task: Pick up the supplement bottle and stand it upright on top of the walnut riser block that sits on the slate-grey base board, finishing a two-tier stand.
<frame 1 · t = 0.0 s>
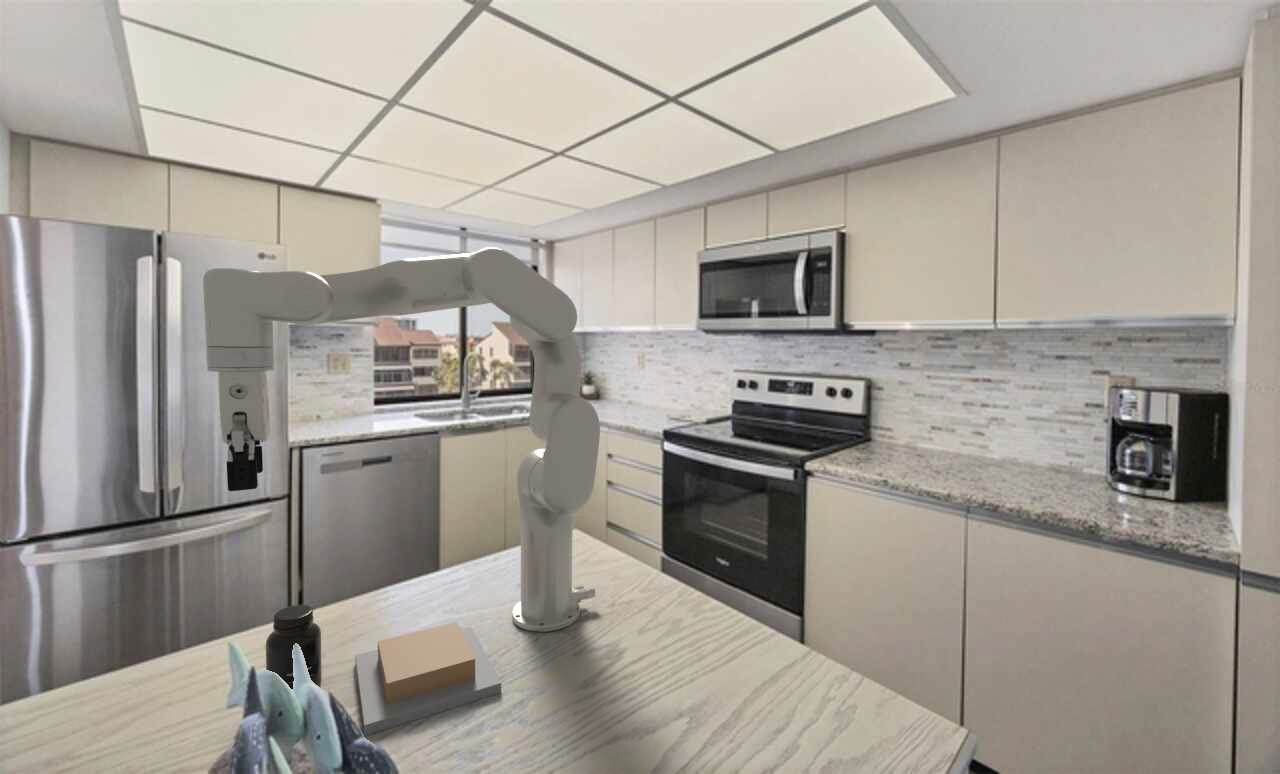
hand: (246, 481, 77), 31 cm above the countertop, tool pointing down, fingers open, 9 cm apart
pedestal: (425, 677, 83), on the countertop
supplement bottle: (295, 691, 80), on the countertop
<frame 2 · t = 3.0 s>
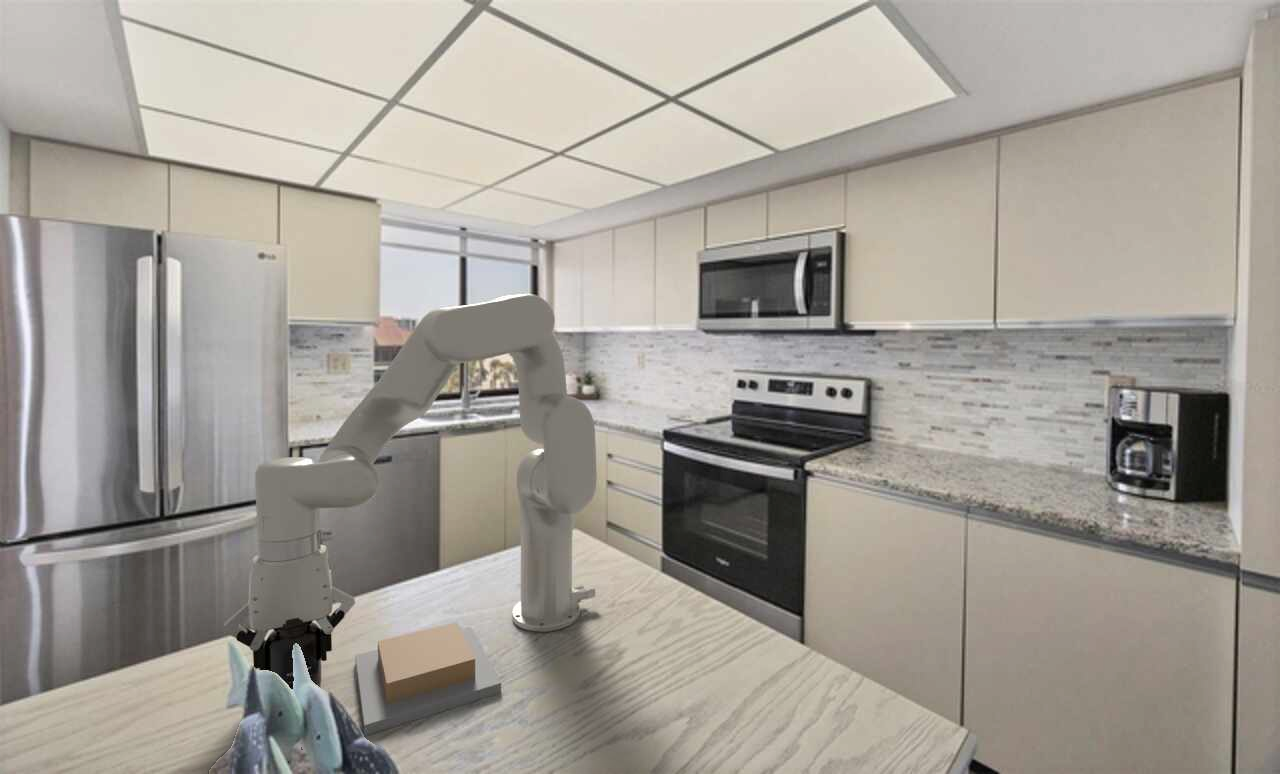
hand: (294, 662, 79), 4 cm above the countertop, tool pointing down, fingers closed on supplement bottle, 6 cm apart
supplement bottle: (295, 691, 80), on the countertop, touching gripper
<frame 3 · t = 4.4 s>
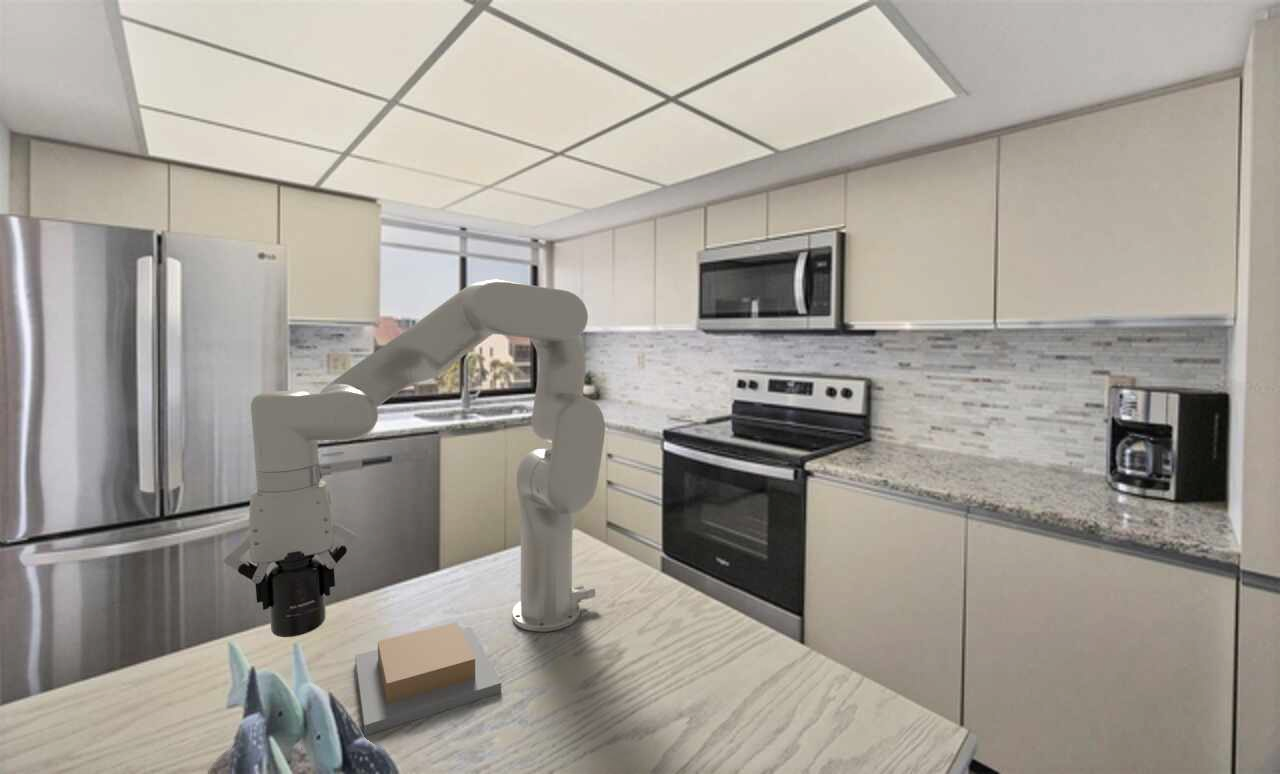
hand: (297, 597, 79), 14 cm above the countertop, tool pointing down, fingers closed on supplement bottle, 6 cm apart
supplement bottle: (299, 627, 79), point 9 cm above the countertop, touching gripper
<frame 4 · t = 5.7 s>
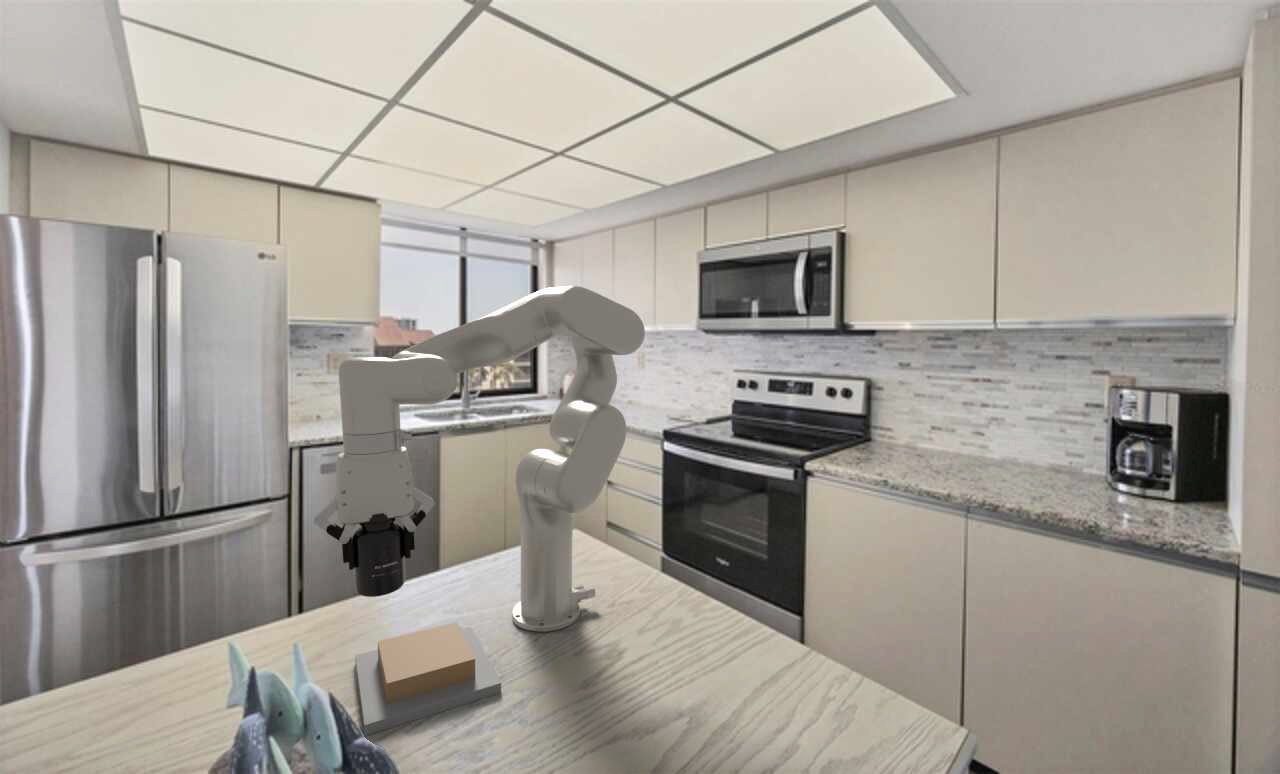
hand: (379, 559, 81), 19 cm above the countertop, tool pointing down, fingers closed on supplement bottle, 6 cm apart
supplement bottle: (381, 588, 81), point 14 cm above the countertop, touching gripper
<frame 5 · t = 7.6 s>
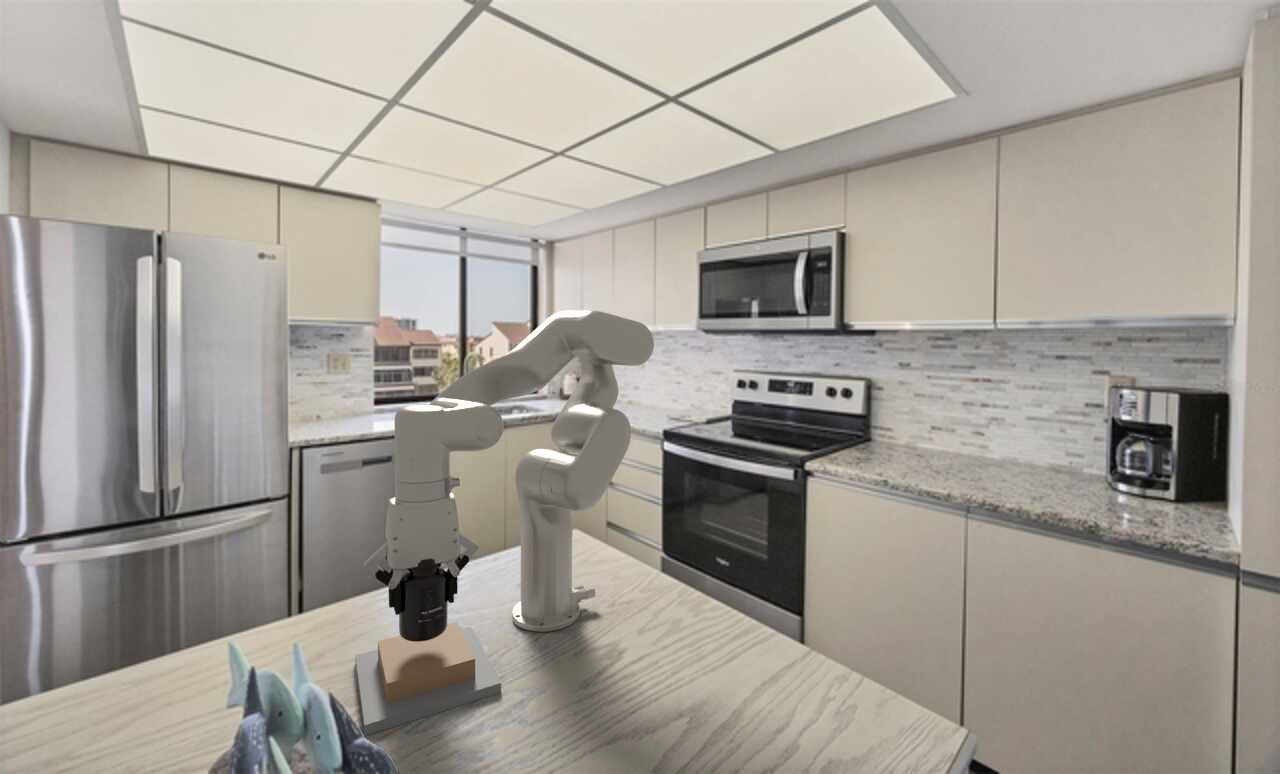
hand: (423, 603, 82), 12 cm above the countertop, tool pointing down, fingers closed on supplement bottle, 6 cm apart
supplement bottle: (424, 632, 83), point 7 cm above the countertop, touching gripper
when the fingers open (10 cm above the countertop, at t = 8.9 s): supplement bottle drops 1 cm, resting on pedestal.
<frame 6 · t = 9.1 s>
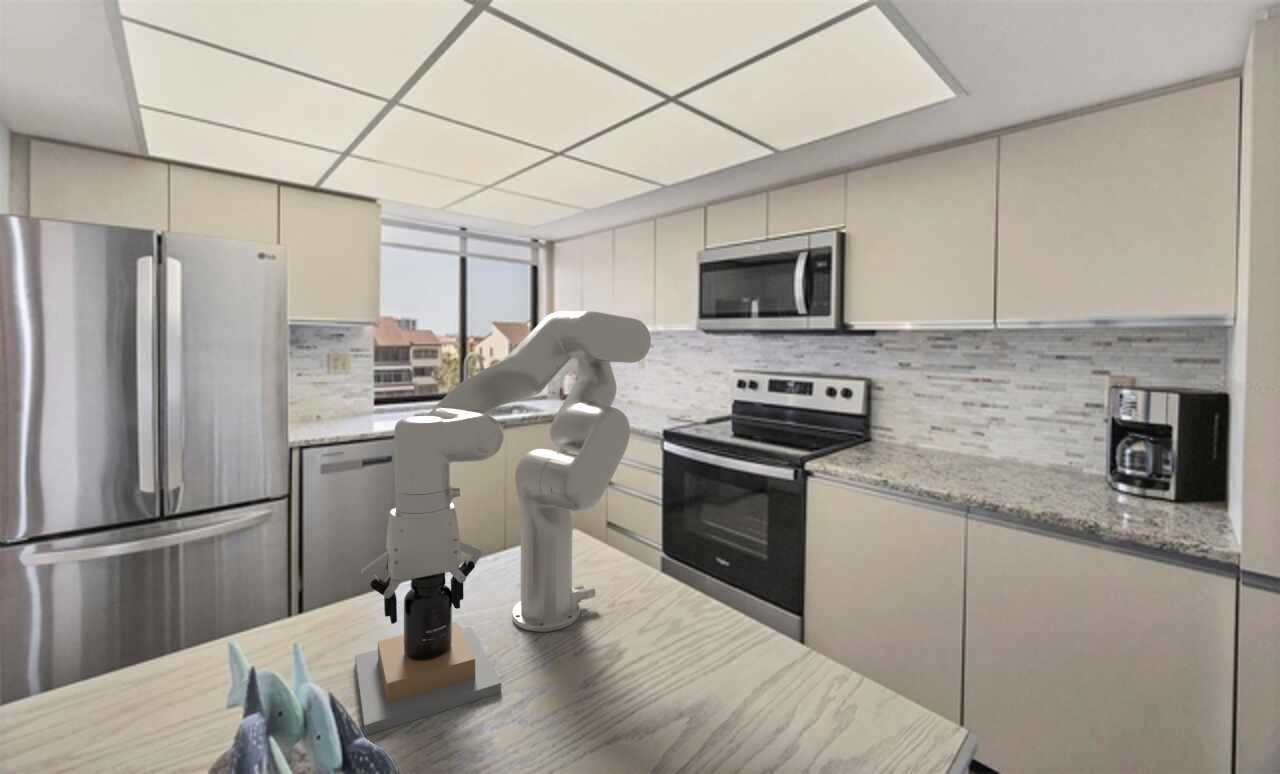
hand: (425, 611, 82), 11 cm above the countertop, tool pointing down, fingers open, 8 cm apart
supplement bottle: (428, 650, 83), point 4 cm above the countertop, touching pedestal
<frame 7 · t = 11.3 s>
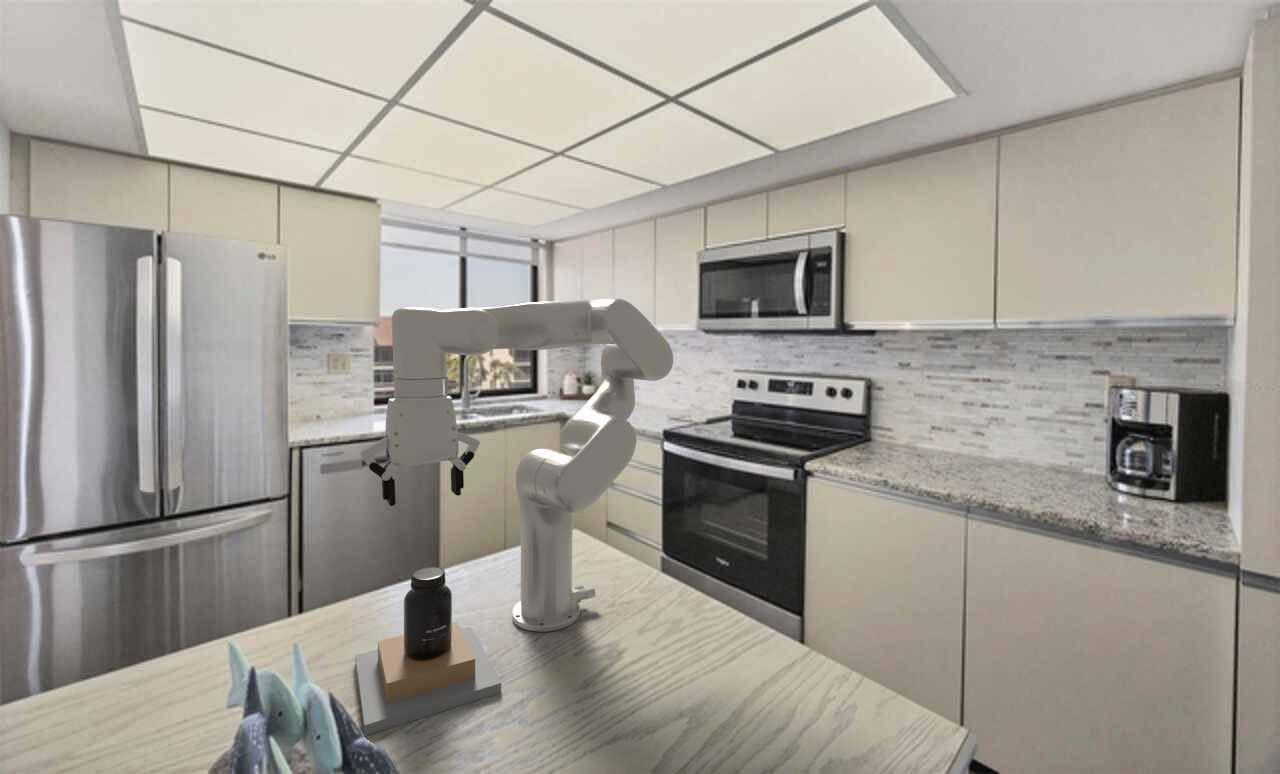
hand: (424, 498, 85), 27 cm above the countertop, tool pointing down, fingers open, 9 cm apart
nothing on the countertop moved.
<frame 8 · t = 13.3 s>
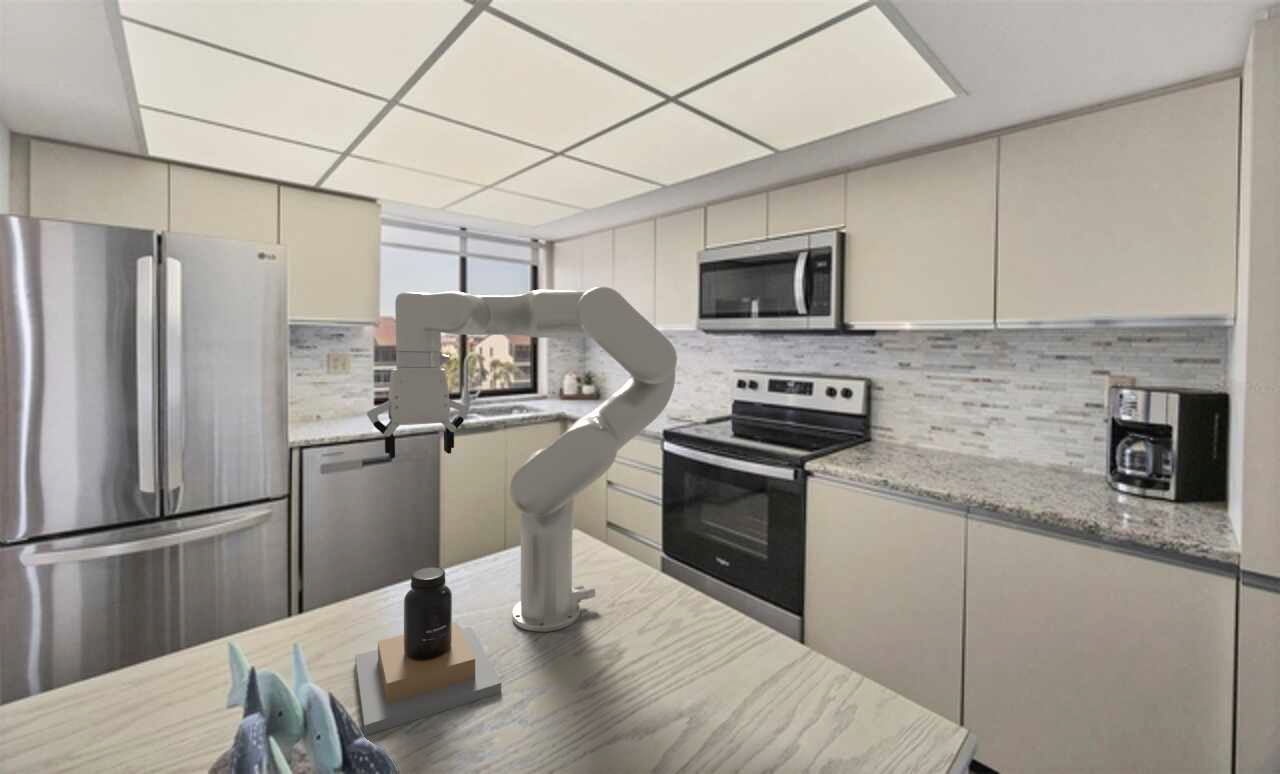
hand: (420, 454, 100), 30 cm above the countertop, tool pointing down, fingers open, 9 cm apart
nothing on the countertop moved.
at the end: supplement bottle inside the target area on the pedestal (0.5 cm from its centre), point 4.3 cm above the pedestal's base; supplement bottle tilted 0°; the gripper is holding nothing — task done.
